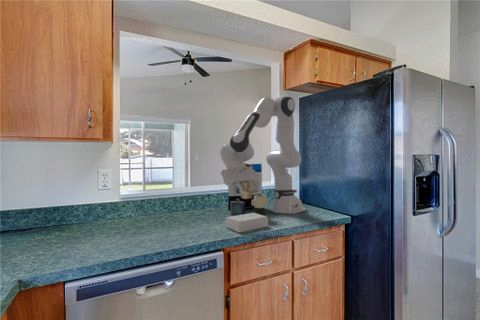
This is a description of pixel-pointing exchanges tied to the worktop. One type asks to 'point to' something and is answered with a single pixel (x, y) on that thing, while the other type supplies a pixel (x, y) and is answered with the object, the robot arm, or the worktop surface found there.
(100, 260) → the worktop surface
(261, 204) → the character mug
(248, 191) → the maple block
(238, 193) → the protein powder
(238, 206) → the flask
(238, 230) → the grey box
